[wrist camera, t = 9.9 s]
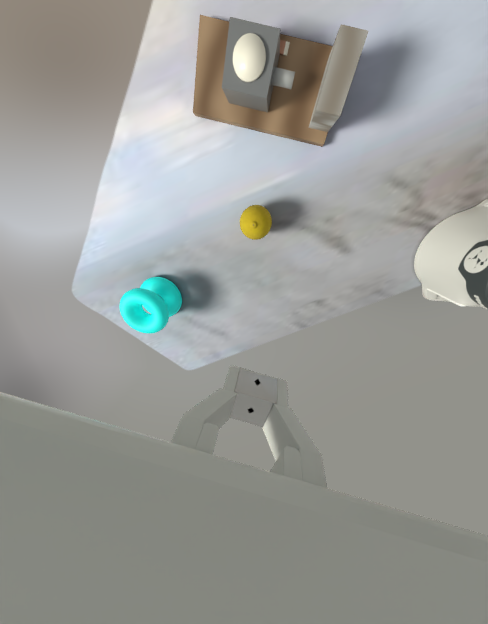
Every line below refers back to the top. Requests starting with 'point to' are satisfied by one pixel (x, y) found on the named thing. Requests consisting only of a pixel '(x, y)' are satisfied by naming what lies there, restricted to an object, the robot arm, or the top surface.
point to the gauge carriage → (253, 65)
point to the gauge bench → (284, 102)
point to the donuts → (151, 304)
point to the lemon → (255, 222)
